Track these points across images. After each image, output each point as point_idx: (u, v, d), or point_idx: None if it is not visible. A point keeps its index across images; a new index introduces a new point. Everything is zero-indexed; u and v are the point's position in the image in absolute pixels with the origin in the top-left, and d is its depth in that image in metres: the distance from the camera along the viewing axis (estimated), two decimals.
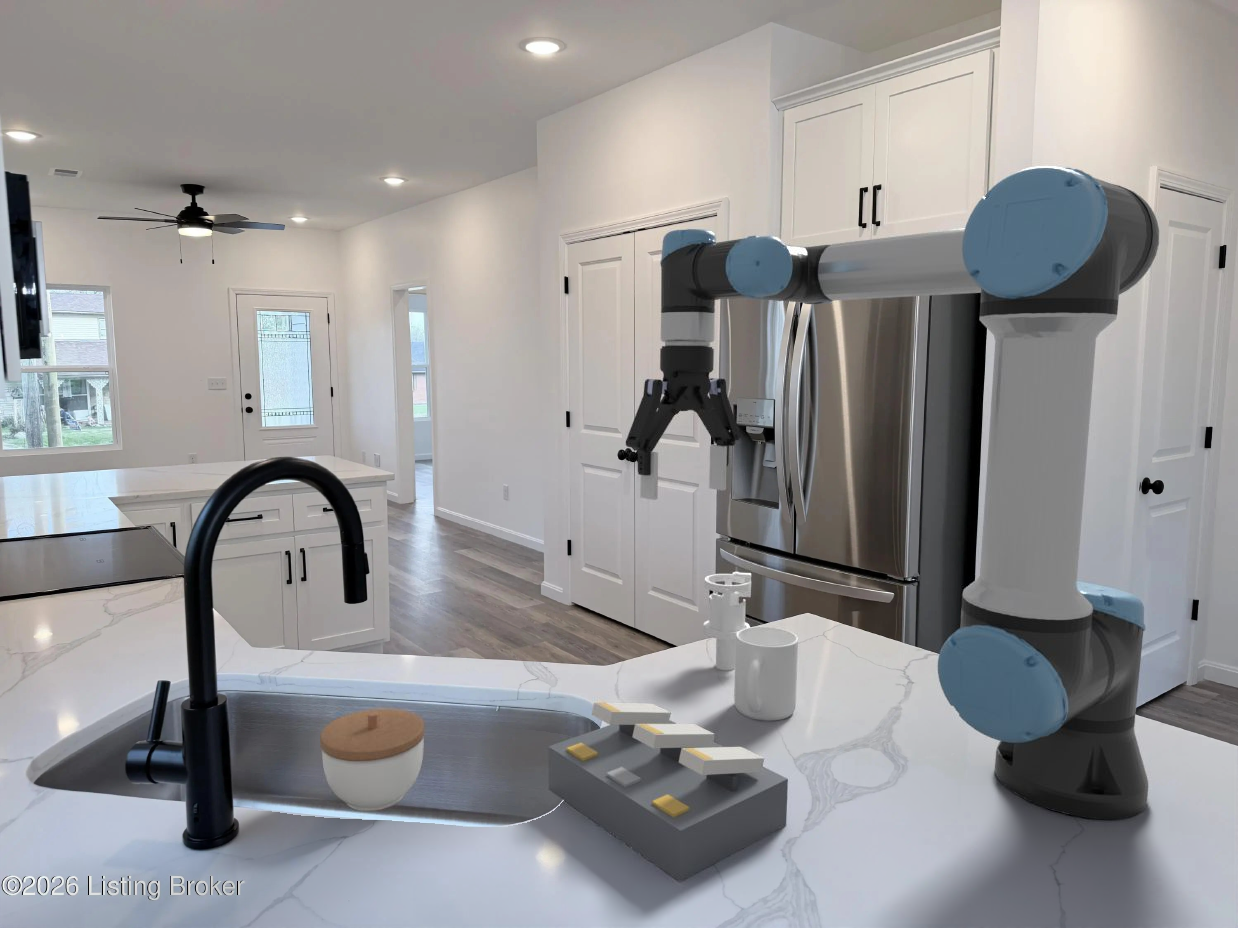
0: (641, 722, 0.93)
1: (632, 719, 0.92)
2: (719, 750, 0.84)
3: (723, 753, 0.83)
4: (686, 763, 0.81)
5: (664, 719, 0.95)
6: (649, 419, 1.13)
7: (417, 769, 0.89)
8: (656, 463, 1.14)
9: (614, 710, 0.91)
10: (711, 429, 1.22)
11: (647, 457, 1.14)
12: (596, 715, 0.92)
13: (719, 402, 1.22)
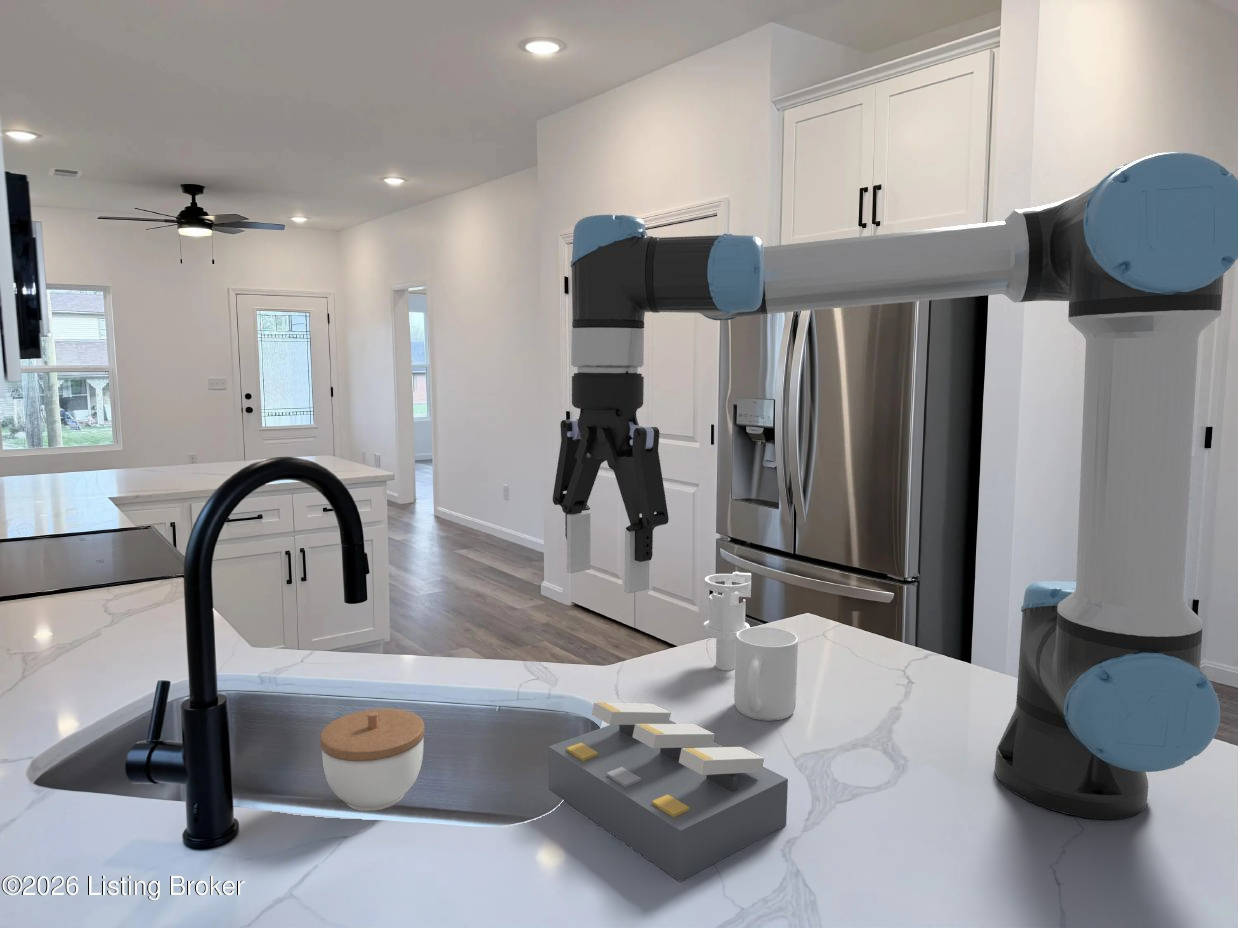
0: (641, 722, 0.93)
1: (632, 719, 0.92)
2: (719, 750, 0.84)
3: (723, 753, 0.83)
4: (686, 763, 0.81)
5: (664, 719, 0.95)
6: (560, 470, 0.93)
7: (417, 769, 0.89)
8: (569, 528, 0.92)
9: (614, 710, 0.91)
10: None
11: None
12: (596, 715, 0.92)
13: None
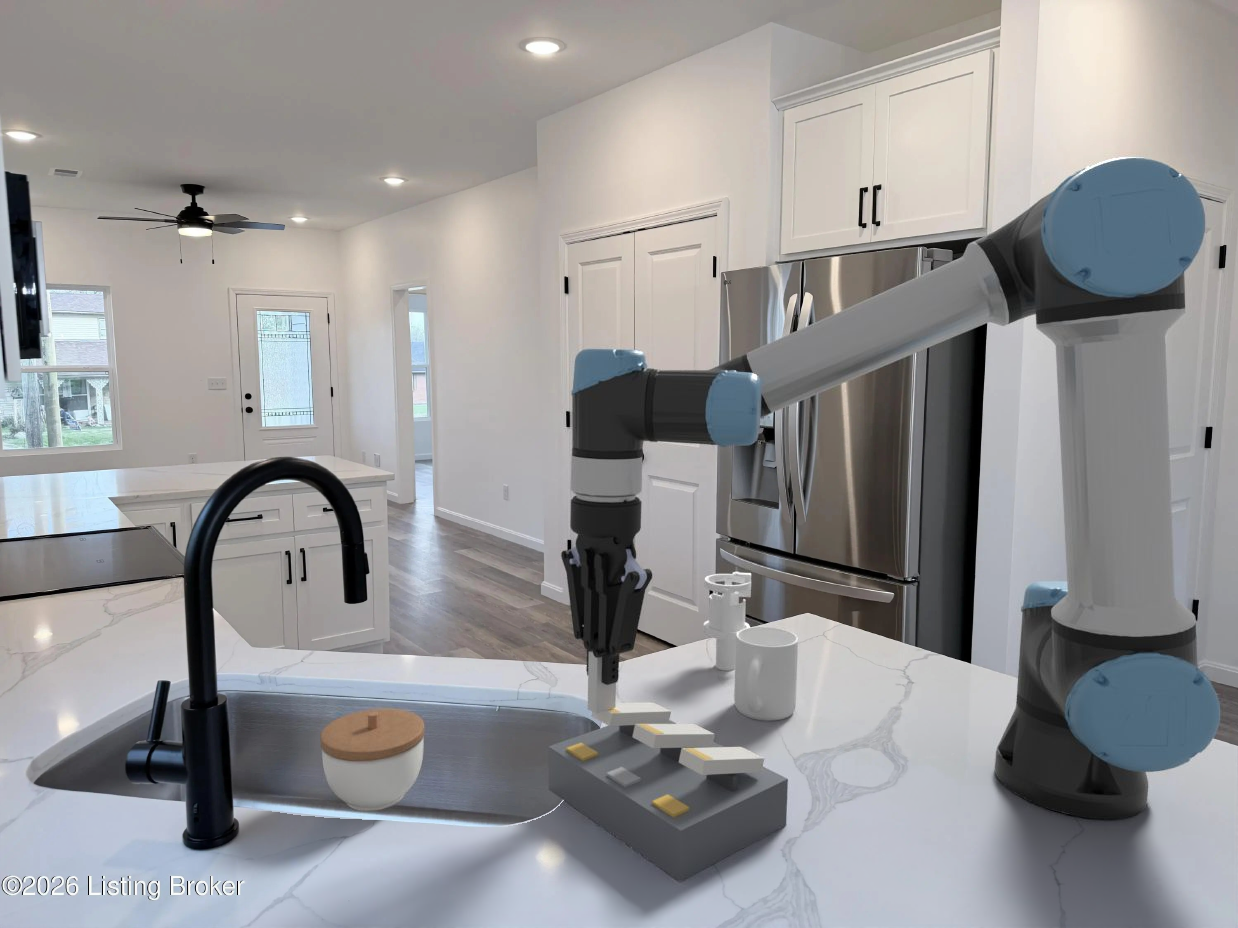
0: (641, 722, 0.93)
1: (632, 719, 0.92)
2: (719, 750, 0.84)
3: (723, 753, 0.83)
4: (686, 763, 0.81)
5: (664, 718, 0.95)
6: (573, 601, 0.92)
7: (417, 769, 0.89)
8: (591, 666, 0.90)
9: (614, 711, 0.91)
10: None
11: None
12: (596, 716, 0.92)
13: None
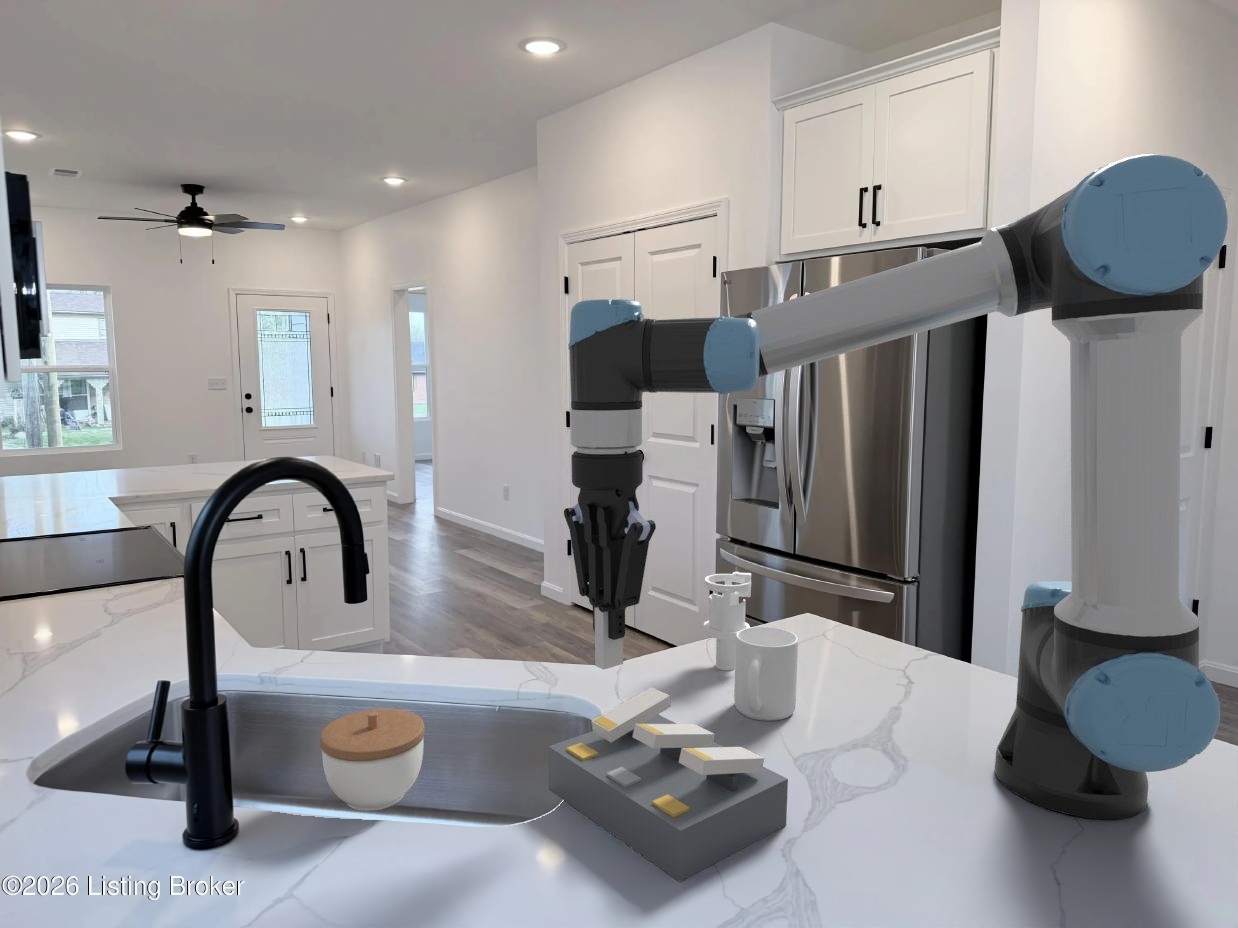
0: (643, 721, 0.93)
1: (632, 724, 0.92)
2: (719, 750, 0.84)
3: (723, 753, 0.83)
4: (686, 763, 0.81)
5: (665, 704, 0.95)
6: (577, 558, 0.92)
7: (417, 769, 0.89)
8: (597, 622, 0.90)
9: (611, 727, 0.91)
10: None
11: None
12: (597, 733, 0.92)
13: None
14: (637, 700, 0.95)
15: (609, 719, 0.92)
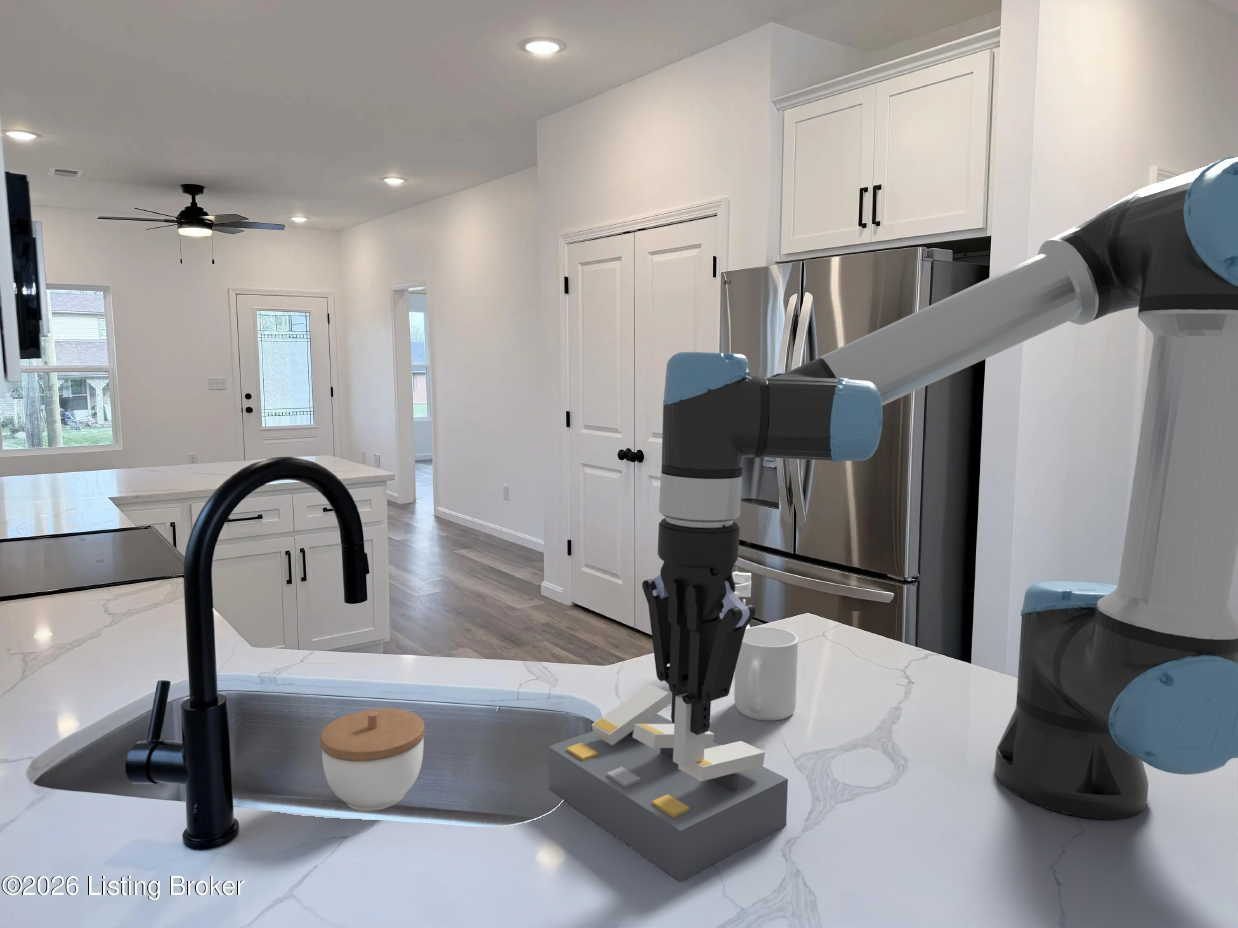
0: (643, 721, 0.93)
1: (632, 725, 0.92)
2: (718, 750, 0.84)
3: (722, 753, 0.83)
4: (685, 769, 0.81)
5: (665, 702, 0.95)
6: (656, 638, 0.81)
7: (417, 769, 0.89)
8: (678, 713, 0.79)
9: (611, 730, 0.91)
10: None
11: (675, 699, 0.80)
12: (598, 736, 0.92)
13: None
14: (636, 699, 0.95)
15: (609, 721, 0.92)
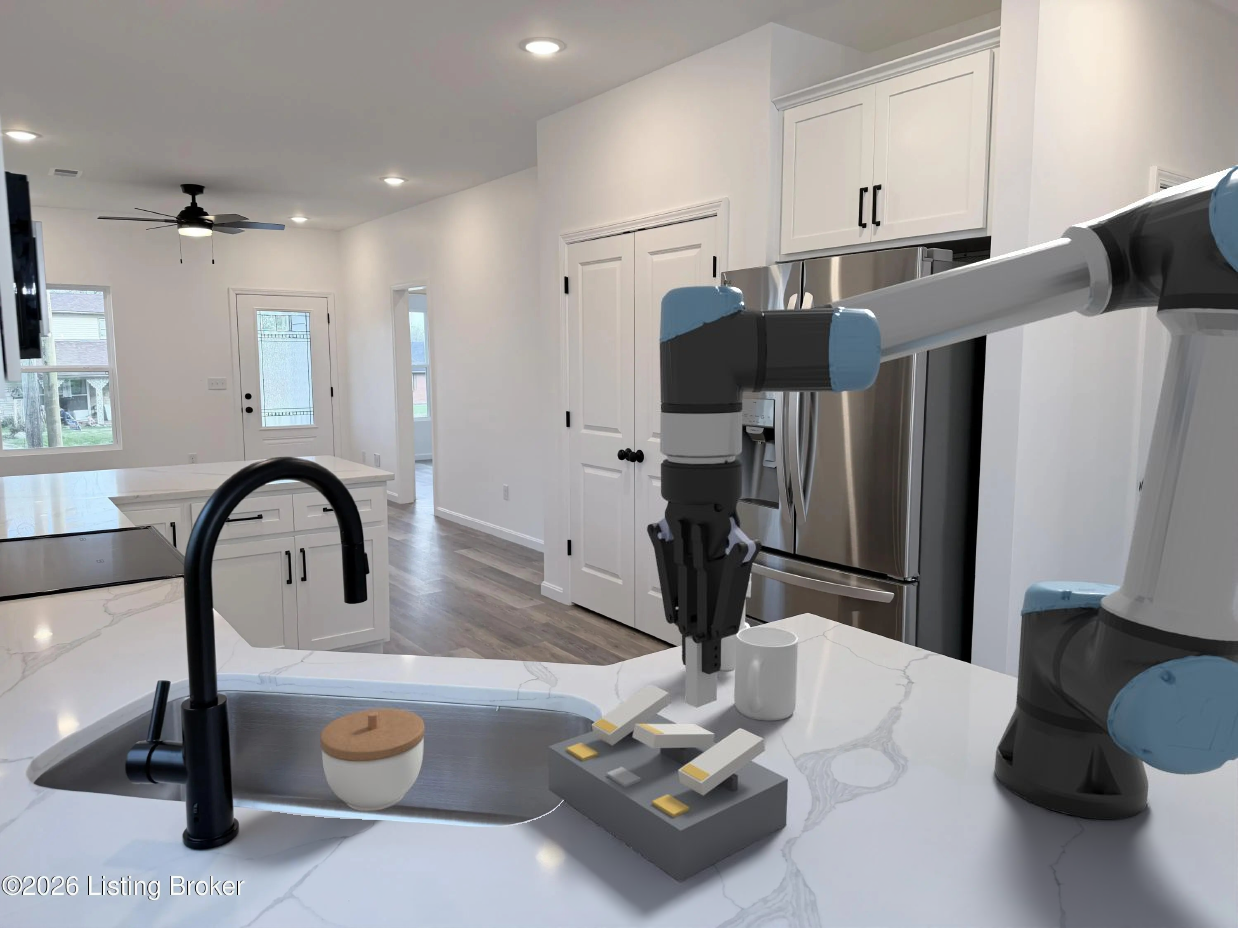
0: (643, 721, 0.93)
1: (632, 725, 0.92)
2: (716, 750, 0.84)
3: (721, 754, 0.83)
4: (687, 784, 0.81)
5: (665, 702, 0.95)
6: (663, 581, 0.81)
7: (417, 769, 0.89)
8: (689, 653, 0.79)
9: (611, 730, 0.91)
10: None
11: (685, 640, 0.80)
12: (598, 736, 0.92)
13: None
14: (636, 699, 0.95)
15: (609, 722, 0.92)
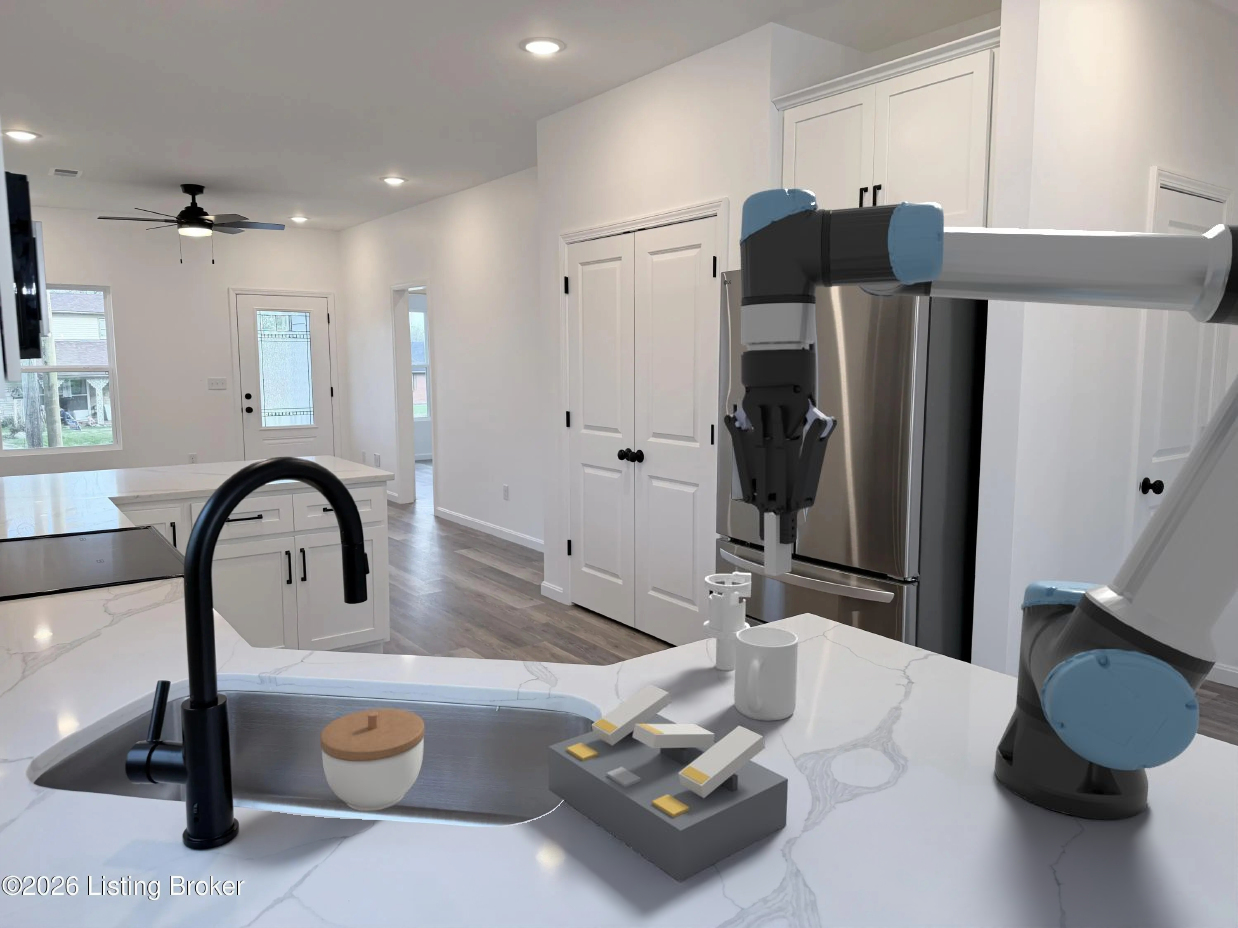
0: (643, 721, 0.93)
1: (632, 725, 0.92)
2: (716, 751, 0.84)
3: (720, 755, 0.83)
4: (687, 786, 0.81)
5: (665, 702, 0.95)
6: (741, 465, 0.89)
7: (417, 769, 0.89)
8: (768, 527, 0.87)
9: (611, 730, 0.91)
10: None
11: (763, 517, 0.88)
12: (598, 736, 0.92)
13: None
14: (636, 699, 0.95)
15: (609, 722, 0.92)
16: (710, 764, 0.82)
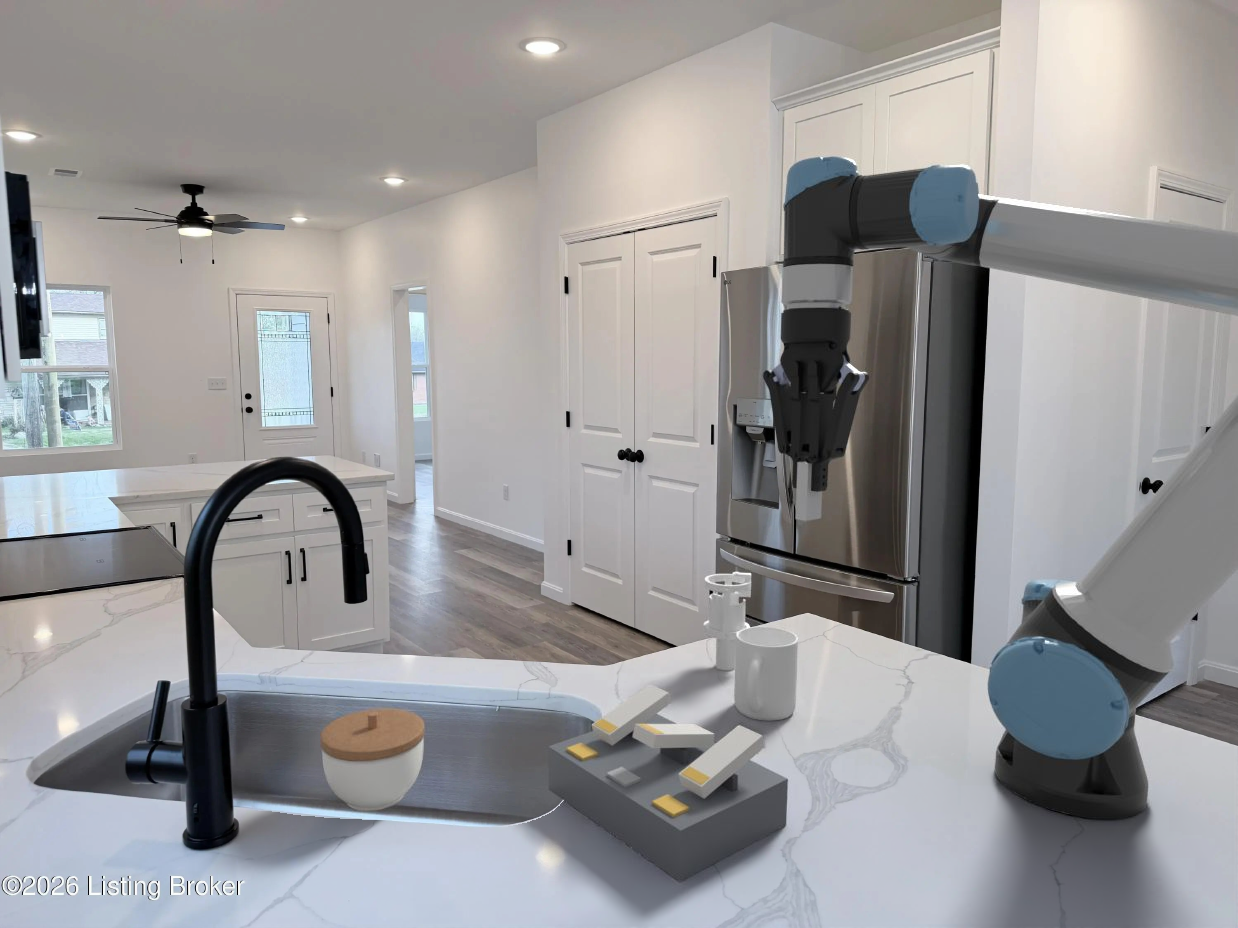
0: (643, 721, 0.93)
1: (632, 725, 0.92)
2: (716, 751, 0.84)
3: (720, 755, 0.83)
4: (687, 787, 0.81)
5: (665, 702, 0.95)
6: (777, 417, 0.96)
7: (417, 769, 0.89)
8: (800, 475, 0.93)
9: (611, 730, 0.91)
10: None
11: (796, 466, 0.95)
12: (598, 736, 0.92)
13: None
14: (636, 699, 0.95)
15: (609, 722, 0.92)
16: (710, 764, 0.82)
